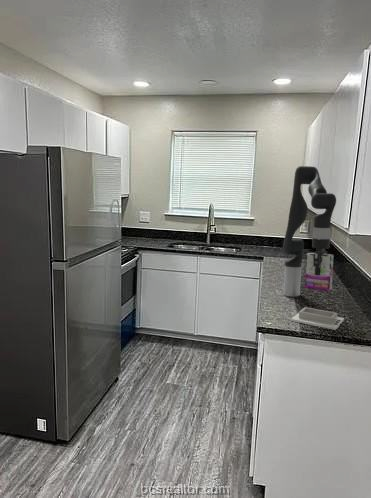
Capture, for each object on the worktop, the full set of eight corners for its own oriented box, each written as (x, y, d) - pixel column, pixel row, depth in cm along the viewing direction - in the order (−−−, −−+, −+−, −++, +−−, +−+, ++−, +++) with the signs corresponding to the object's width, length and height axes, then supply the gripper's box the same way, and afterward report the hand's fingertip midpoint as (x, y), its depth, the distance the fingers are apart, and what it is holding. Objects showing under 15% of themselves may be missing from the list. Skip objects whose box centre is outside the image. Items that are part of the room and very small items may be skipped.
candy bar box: (332, 289, 172) (334, 254, 170) (329, 291, 168) (331, 255, 165) (307, 286, 178) (309, 252, 176) (304, 288, 174) (306, 253, 172)
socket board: (301, 312, 186) (302, 304, 186) (344, 320, 175) (344, 311, 175) (290, 320, 173) (291, 312, 173) (336, 330, 162) (336, 321, 162)
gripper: (317, 235, 178) (315, 270, 180) (308, 238, 166) (306, 275, 168) (333, 236, 173) (331, 272, 176) (325, 239, 162) (323, 277, 164)
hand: (319, 274), depth 172 cm, fingers closed on candy bar box, 5 cm apart
